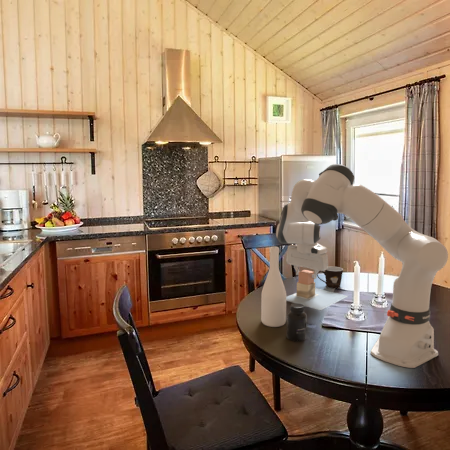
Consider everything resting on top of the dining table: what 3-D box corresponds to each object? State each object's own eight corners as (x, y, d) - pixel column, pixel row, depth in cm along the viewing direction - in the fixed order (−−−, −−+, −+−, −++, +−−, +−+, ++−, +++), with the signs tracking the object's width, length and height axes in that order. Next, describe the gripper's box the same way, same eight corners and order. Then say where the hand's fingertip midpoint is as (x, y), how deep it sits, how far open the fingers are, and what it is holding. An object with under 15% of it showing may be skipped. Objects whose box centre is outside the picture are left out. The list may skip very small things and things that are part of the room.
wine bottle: (290, 322, 155) (292, 246, 150) (276, 330, 148) (277, 251, 144) (270, 316, 162) (271, 243, 157) (256, 323, 155) (256, 247, 150)
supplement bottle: (301, 343, 137) (302, 310, 135) (283, 339, 141) (284, 306, 139) (308, 336, 143) (309, 304, 141) (291, 332, 146) (291, 300, 145)
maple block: (307, 298, 179) (308, 285, 178) (296, 295, 183) (296, 282, 182) (315, 294, 183) (315, 282, 182) (303, 292, 187) (304, 279, 186)
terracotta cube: (307, 284, 178) (308, 273, 178) (298, 282, 182) (298, 271, 181) (313, 282, 182) (314, 271, 181) (304, 280, 185) (304, 269, 185)
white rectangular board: (320, 313, 164) (320, 310, 164) (281, 301, 178) (281, 298, 178) (348, 298, 181) (348, 295, 181) (310, 289, 195) (310, 286, 195)
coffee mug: (344, 287, 197) (345, 267, 195) (339, 292, 190) (339, 272, 188) (321, 283, 203) (322, 264, 202) (315, 288, 196) (316, 268, 194)
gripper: (283, 244, 184) (283, 273, 186) (322, 251, 170) (321, 282, 172) (291, 242, 189) (291, 271, 191) (330, 249, 175) (329, 279, 177)
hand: (306, 276), depth 181 cm, fingers open, 7 cm apart
